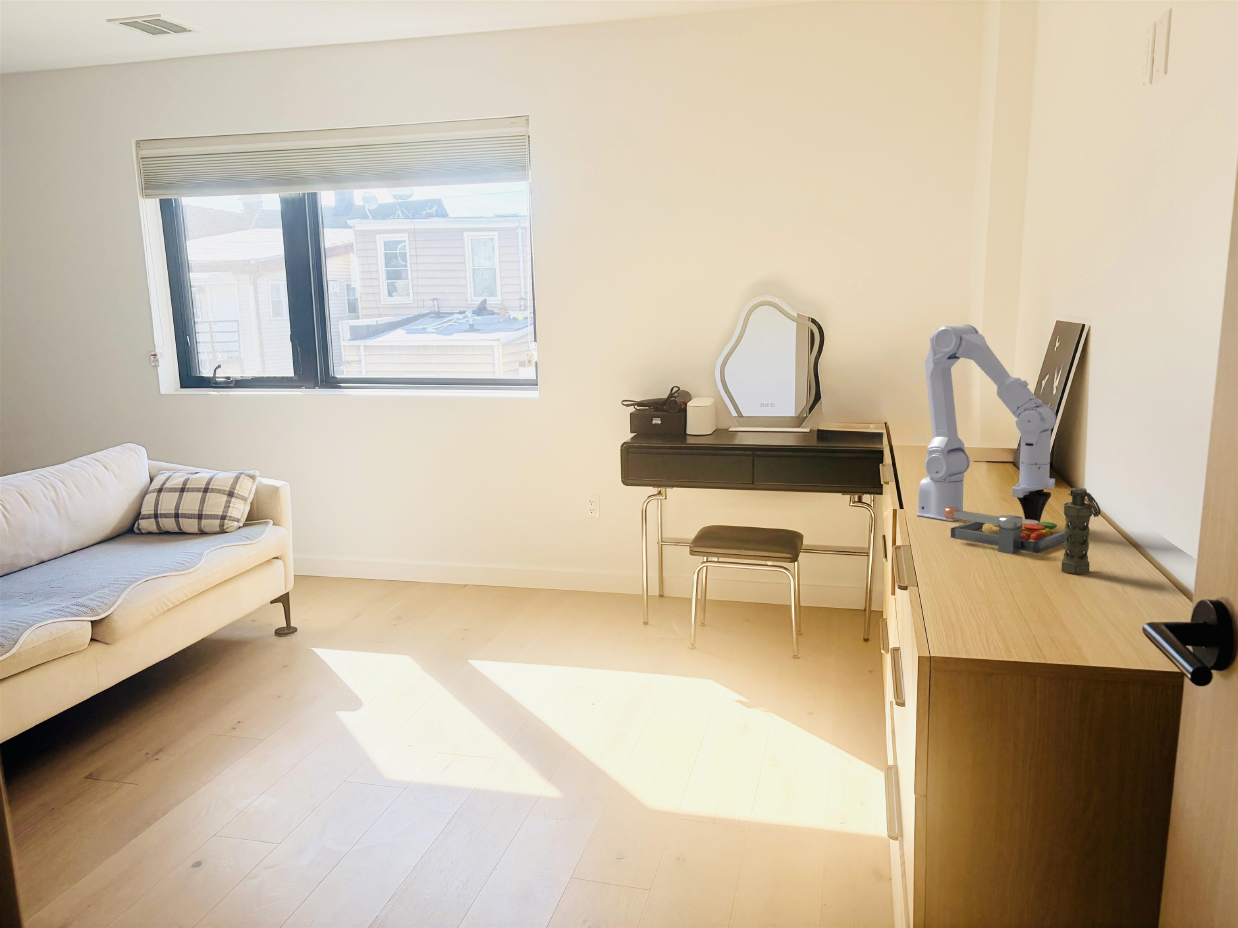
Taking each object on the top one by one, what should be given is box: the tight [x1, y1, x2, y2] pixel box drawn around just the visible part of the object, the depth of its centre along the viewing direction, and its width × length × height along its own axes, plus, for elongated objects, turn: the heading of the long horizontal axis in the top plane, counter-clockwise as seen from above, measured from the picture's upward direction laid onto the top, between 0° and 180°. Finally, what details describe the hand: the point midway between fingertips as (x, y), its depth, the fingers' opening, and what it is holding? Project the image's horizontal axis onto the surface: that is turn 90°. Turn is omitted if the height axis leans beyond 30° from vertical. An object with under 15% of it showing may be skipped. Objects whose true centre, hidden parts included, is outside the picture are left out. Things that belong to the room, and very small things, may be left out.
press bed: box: [950, 521, 1069, 555], centre depth 177 cm, size 18×18×5 cm
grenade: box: [1061, 487, 1102, 575], centre depth 154 cm, size 9×6×15 cm, turn 153°
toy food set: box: [981, 518, 1058, 541], centre depth 179 cm, size 13×13×3 cm
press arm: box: [945, 507, 1024, 529], centre depth 173 cm, size 16×4×2 cm, turn 38°
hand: (1032, 525), depth 185 cm, fingers closed
